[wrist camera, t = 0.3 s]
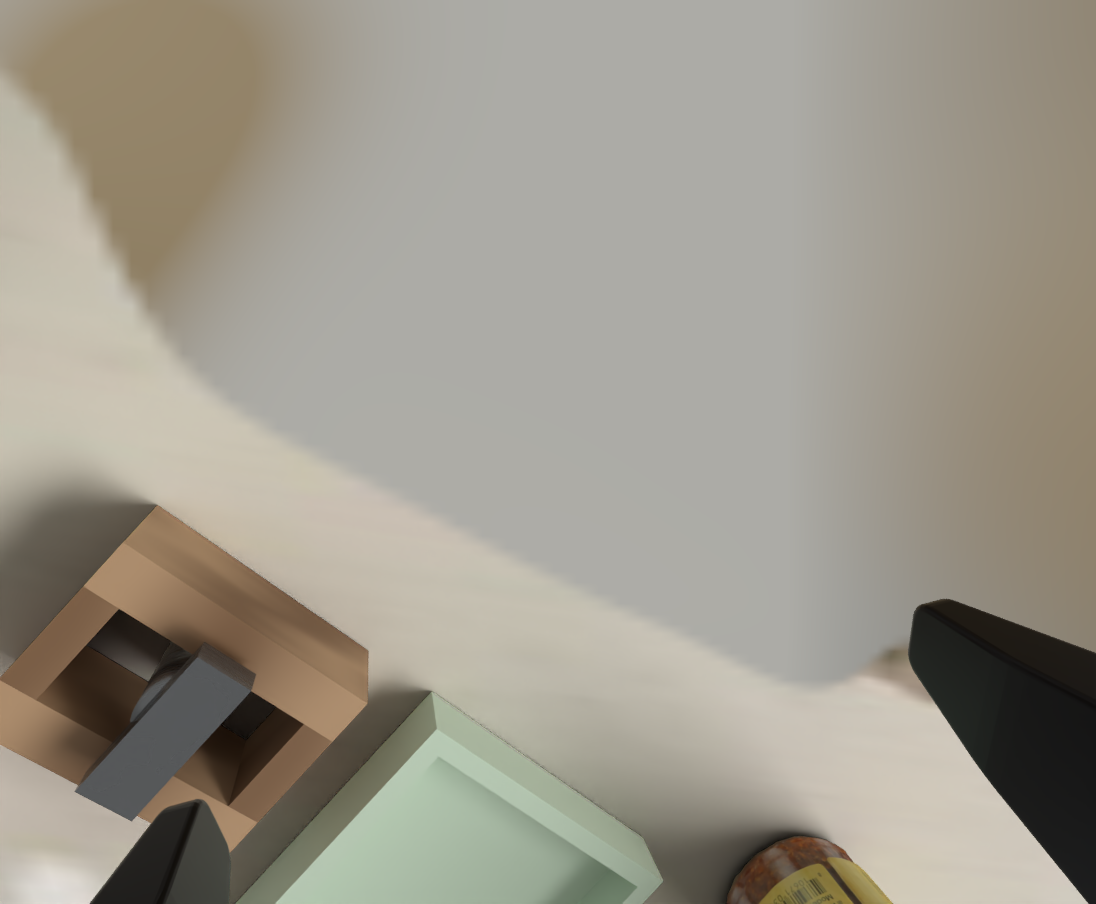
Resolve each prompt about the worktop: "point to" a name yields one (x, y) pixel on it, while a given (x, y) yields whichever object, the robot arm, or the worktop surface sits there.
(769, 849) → the sauce bottle
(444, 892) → the tray
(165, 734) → the grey t-shaped knob
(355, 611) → the worktop surface
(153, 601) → the collar
